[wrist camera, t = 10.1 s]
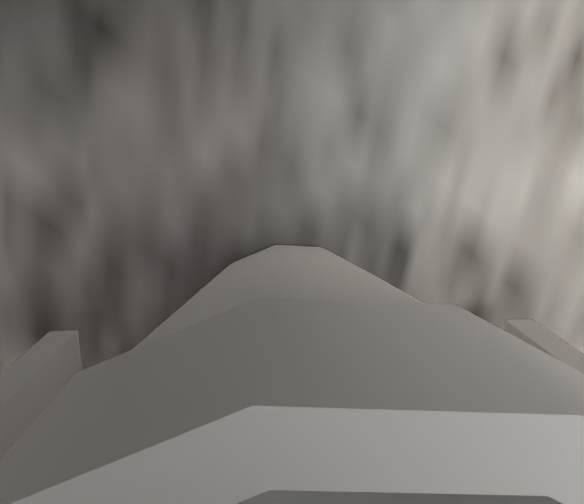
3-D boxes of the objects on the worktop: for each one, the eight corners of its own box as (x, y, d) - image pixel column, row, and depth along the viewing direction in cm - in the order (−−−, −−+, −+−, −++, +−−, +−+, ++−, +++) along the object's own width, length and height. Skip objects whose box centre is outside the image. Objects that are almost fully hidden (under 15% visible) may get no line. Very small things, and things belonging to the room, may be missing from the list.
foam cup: (216, 510, 18) (92, 1371, 5) (90, 268, 16) (-548, 728, 4) (476, 407, 18) (996, 1078, 5) (379, 146, 16) (824, 174, 3)
